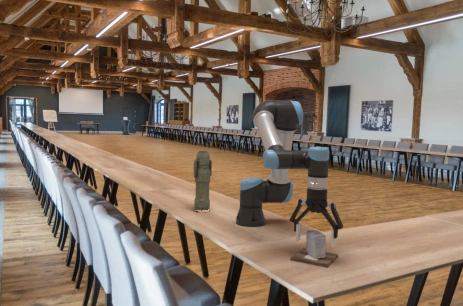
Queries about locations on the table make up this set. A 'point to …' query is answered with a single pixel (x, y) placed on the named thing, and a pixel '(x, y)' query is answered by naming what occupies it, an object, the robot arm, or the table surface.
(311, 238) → the medicine box
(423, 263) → the table surface
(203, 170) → the green robed figurine
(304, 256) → the pad
